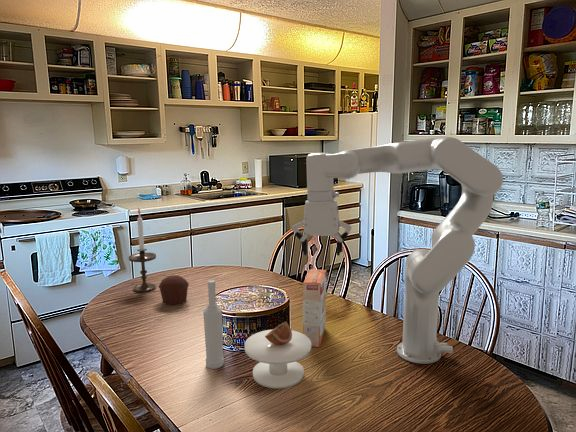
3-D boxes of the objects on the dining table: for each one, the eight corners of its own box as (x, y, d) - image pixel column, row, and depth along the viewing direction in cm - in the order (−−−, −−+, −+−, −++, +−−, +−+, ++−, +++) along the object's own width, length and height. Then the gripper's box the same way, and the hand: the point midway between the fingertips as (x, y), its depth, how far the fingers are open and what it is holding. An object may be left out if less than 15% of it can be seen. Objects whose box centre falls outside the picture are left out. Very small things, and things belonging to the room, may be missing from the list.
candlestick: (153, 293, 184) (147, 209, 178) (127, 293, 184) (120, 209, 178) (161, 284, 195) (156, 205, 188) (136, 284, 195) (130, 205, 188)
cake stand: (316, 361, 129) (316, 332, 128) (304, 397, 112) (304, 364, 110) (256, 354, 133) (256, 326, 132) (236, 388, 116) (235, 356, 114)
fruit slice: (281, 353, 116) (281, 335, 115) (259, 347, 119) (259, 329, 118) (296, 339, 123) (296, 322, 122) (275, 334, 126) (274, 318, 125)
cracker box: (321, 348, 137) (321, 283, 133) (301, 346, 138) (301, 282, 134) (326, 328, 150) (327, 269, 146) (308, 327, 152) (309, 268, 148)
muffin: (195, 299, 177) (194, 275, 175) (175, 309, 168) (173, 283, 166) (174, 293, 183) (173, 270, 182) (153, 302, 174) (151, 278, 172)
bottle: (208, 371, 125) (205, 285, 120) (203, 362, 129) (199, 280, 124) (226, 366, 127) (223, 282, 122) (220, 358, 131) (217, 277, 127)
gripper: (351, 194, 130) (352, 251, 133) (293, 194, 133) (295, 250, 136) (350, 198, 123) (351, 258, 126) (288, 198, 126) (290, 257, 129)
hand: (322, 254), depth 131 cm, fingers open, 9 cm apart
